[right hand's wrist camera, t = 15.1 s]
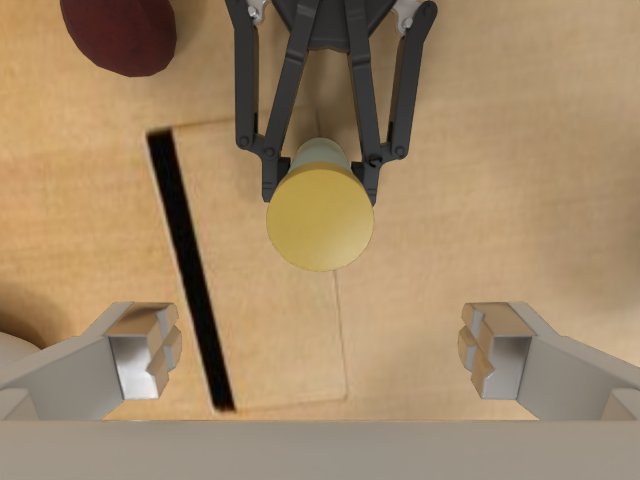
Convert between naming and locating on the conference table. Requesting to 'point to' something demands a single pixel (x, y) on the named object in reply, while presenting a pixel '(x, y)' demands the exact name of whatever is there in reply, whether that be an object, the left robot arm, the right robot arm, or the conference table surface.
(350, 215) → the lid
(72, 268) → the conference table surface
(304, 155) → the jar
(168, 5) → the potato
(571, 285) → the conference table surface
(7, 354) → the white slotted dome
